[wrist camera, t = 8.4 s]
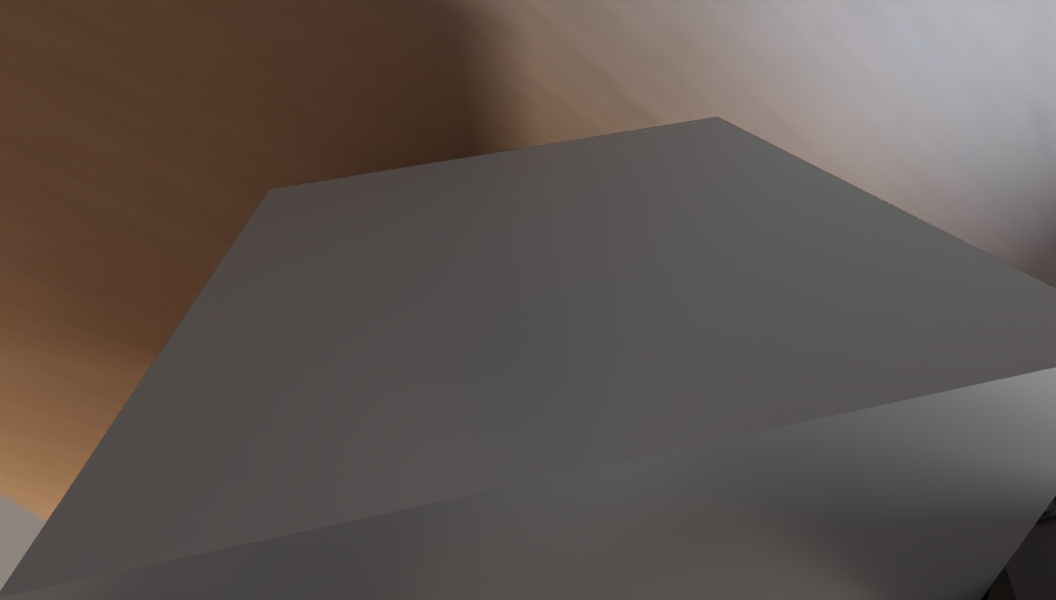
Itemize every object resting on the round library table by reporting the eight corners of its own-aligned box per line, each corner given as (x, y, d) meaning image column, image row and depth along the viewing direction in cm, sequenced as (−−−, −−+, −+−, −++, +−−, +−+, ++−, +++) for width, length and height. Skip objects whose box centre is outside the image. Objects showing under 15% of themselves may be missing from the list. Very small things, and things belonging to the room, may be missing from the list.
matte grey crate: (689, 423, 18) (878, 741, 10) (388, 487, 17) (365, 884, 10) (717, 116, 12) (1165, 342, 5) (269, 189, 11) (-5, 598, 4)
